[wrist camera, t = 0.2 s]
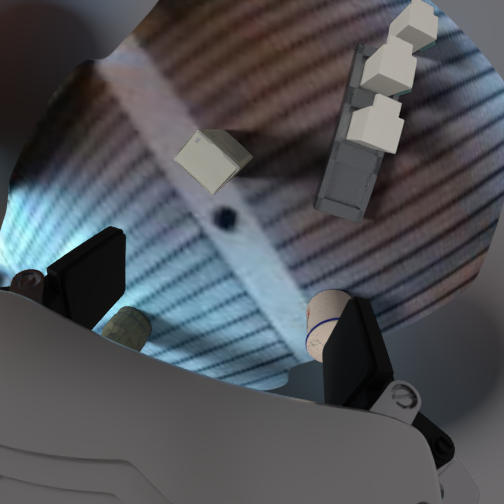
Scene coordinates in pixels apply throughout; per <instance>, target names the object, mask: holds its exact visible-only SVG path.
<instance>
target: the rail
mask: <svg viewBox="0 0 504 504" xmlns="http://www.w3.org/2000/svg"><path fill="white" fill-rule="evenodd" d="M377 50H378V49H377V48H374V47H372V46H369V45H367V44H364V43H361V42H359V43H358V45H357V46H356V47H355V50H354V55H353V59H352V63H351V67H350V72H349V76H348V80H347V84H346V88H345V92H344V96H343V100H342V103H341V107H340V111H339V115H338V119H337V122H336V126H335V130H334V133H333V137H332V140H331V144H330V147H329V151H328V154H327V158H326V161H325V165H324V168H323V172H322V175H321V178H320V182H319V185H318V188H317V191H316V195H315V198H314V201H313V207H314V209H316V210H319V211H322V212H326V213H329V214H332V215H335V216H338V217H341V218H345V219H348V220H351V221H354V222H357V223H360V224H361V221H362V219H363V216H364V213H365V210H366V208H367V205H368V202H369V199H370V196H371V193H372V190H373V187H374V184H375V181H376V178H377V175H378V172H379V169H380V166H381V162H382V159H383V156H384V151H380V150H375V149H371V148H369V147H366V146H363V145H361V144H358V143H355V142H352V141H350V140H347V139H346V136H347V132H348V128H349V125H350V121H351V117H352V113H353V112H355V111H357V110H360V109H363V108H366V107H369V106H373V103H374V99H375V95H376V94H378V93H375V92H373V91H370V90H368V89H365V88H363V87H360V82H361V78H362V73H363V69H364V65H365V62H366V61H367V60H368V59H369V58H370V57H371V56H372V55H373V54H374V53H375V52H376V51H377ZM388 98H391V99H393V100H395V101H397V102H398V99H399V96H397V95H395V94H393V95H390V96H388Z"/></svg>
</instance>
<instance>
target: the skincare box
mask: <svg viewBox="0 0 504 504" xmlns="http://www.w3.org/2000/svg"><path fill="white" fill-rule="evenodd" d="M252 158H253V156H252V155H251V154H250V153H249V152H248V151H247V150H246V149H245V148H244V147H243V146H242V145H241V144H240V143H239V142H238V141H236V140H235V139H234V138H233V137H232V136H231V135H230V134H228V133H227V132H226V131H225V130H223V129H212V130H211V129H210V130H197V131H196V132H195V133H194V134H193V135H192V136H191V137H190V138H189V140H188V141H187V142H186V143H185V144H184V145H183V147H182V148H181V149H180V150H179V152H178V153H177V154H176V156H175V157H174V160H175V161H176V162H177V163H178V164H179V165H180V166H181V167H182V168H183V169H184V170H185V171H186V172H187V173H188V174H189V175H190V176H191V177H193V178H194V179H195V180H196V181H197V182H198V183H199V184H200V185H201V186H203V187H204V188H205V189H206V190H207V191H208V192H210V193H211V194H212V195H214V194H215V193H216V192H217V191H218V190H219V189H221V188H222V187H223V186H224V185H225V184H226V183H227V182H228V181H230V180H231V179H232V178H233V177H234V176H235V175H236V174H237V173H238V172H239V171H240V170H241V169H242V168H243V167H244V166H246V165H247V164H248V162H249V161H250V160H251V159H252Z"/></svg>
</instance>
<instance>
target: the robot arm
mask: <svg viewBox="0 0 504 504" xmlns="http://www.w3.org/2000/svg"><path fill="white" fill-rule="evenodd" d="M125 256H126V235H125V234H123V230H122V229H118V228H115V227H112V226H109V227H107V228H106V229H104V230H102V231H101V232H99V233H98V234H96V235H94V236H93V237H91V238H90V239H88V240H87V241H85V242H84V243H82V244H81V245H79V246H77V247H76V248H74V249H73V250H71V251H70V252H69V253H67V254H66V255H64V256H63V257H61V258H60V259H58V260H57V261H56V262H54V263H53V264H51V265H50V266H48V267H47V275H46V276H45V277H44V275H43V273H42V272H41V271H39V270H35V269H28V270H24V271H21V272H19V273H18V274H16V275H15V276H14V277H13V279H12V281H11V285H10V286H8V287H0V504H477V503H478V502H479V498H480V492H479V488H478V486H477V485H476V483H475V482H474V480H473V479H472V478H471V476H470V475H469V473H468V472H467V470H466V469H465V467H464V466H463V465H462V463H461V462H460V461H459V459H458V458H457V459H455V460H454V459H453V457H454V453H455V448H454V444H453V442H452V440H451V438H450V437H449V436H448V435H447V434H446V433H444V432H443V431H442V430H441V429H439V428H438V427H437V426H436V425H434V423H432V422H431V421H430V420H429V419H428V418H426V417H425V416H424V415H423V414H421V413H420V412H419V411H418V410H419V408H420V405H421V398H420V395H419V393H418V392H417V390H416V389H415V388H414V387H413V386H412V385H411V384H409V383H407V382H404V381H401V380H400V381H399V380H398V381H397V380H396V381H394V377H393V374H394V372H393V369H392V365H391V363H390V359H389V356H388V353H387V349H386V347H385V344H384V340H383V337H382V334H381V331H380V329H379V326H378V323H377V320H376V317H375V314H374V312H373V309H372V306H371V304H370V301H369V300H368V299H365V298H361V297H357V296H355V297H354V298H353V299H351V298H350V299H349V300H348V302H347V304H346V306H345V308H344V310H343V312H342V314H341V316H340V318H339V319H338V321H337V323H336V325H335V327H334V329H333V331H332V333H331V335H330V336H329V338H328V340H327V342H326V344H325V345H324V348H323V351H322V361H323V377H324V395H325V403H319V402H313V401H307V400H302V399H297V398H292V397H287V396H282V395H277V394H273V393H269V392H264V391H260V390H256V389H252V388H248V387H244V386H240V385H237V384H233V383H230V382H226V381H223V380H219V379H216V378H212V377H209V376H206V375H203V374H199V373H196V372H193V371H190V370H187V369H184V368H181V367H179V366H176V365H173V364H170V363H167V362H165V361H162V360H159V359H157V358H154V357H151V356H149V355H146V354H144V353H141V352H139V351H136V350H134V349H131V348H129V347H127V346H124V345H122V344H120V343H117V342H115V341H113V340H111V339H108V338H106V337H104V336H102V335H100V334H98V333H96V332H94V331H91V330H92V329H93V328H94V327H95V326H96V324H97V323H98V322H99V321H100V320H101V319H102V318H103V317H104V315H105V314H106V313H107V312H108V311H109V310H110V309H111V308H112V306H113V305H114V304H115V303H116V302H117V301H118V300H119V299H120V298H121V297H122V296H123V294H124V292H125V287H126V285H125Z"/></svg>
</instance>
